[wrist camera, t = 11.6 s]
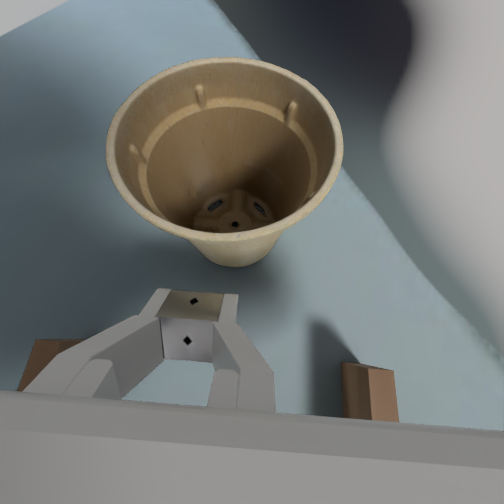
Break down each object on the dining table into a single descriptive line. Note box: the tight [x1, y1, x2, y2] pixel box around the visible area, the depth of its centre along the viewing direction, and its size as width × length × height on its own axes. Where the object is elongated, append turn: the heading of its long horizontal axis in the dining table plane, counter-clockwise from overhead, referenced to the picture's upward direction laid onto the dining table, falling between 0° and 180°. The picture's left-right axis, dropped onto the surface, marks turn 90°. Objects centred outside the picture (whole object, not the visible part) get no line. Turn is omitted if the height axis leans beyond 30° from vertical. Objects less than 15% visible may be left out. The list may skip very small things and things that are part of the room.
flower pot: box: [106, 57, 343, 267], centre depth 14 cm, size 9×9×9 cm
